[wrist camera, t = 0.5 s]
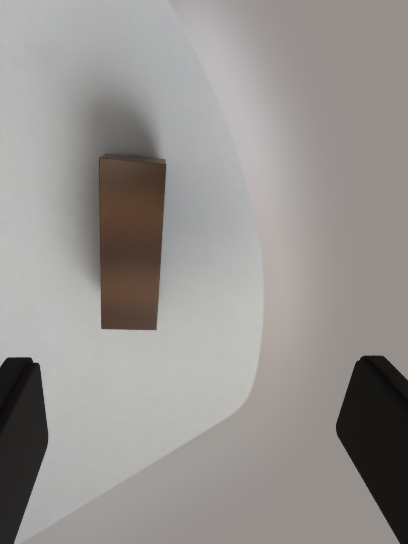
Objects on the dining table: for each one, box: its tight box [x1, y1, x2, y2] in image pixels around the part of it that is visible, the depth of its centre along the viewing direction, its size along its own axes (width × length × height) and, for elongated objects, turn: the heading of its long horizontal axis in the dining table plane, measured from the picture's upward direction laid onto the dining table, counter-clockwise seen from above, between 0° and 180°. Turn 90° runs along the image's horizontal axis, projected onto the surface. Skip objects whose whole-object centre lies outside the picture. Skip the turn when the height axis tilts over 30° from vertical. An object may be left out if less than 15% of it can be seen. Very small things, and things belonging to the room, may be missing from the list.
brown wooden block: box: [99, 154, 166, 330], centre depth 25 cm, size 12×4×4 cm, turn 174°
